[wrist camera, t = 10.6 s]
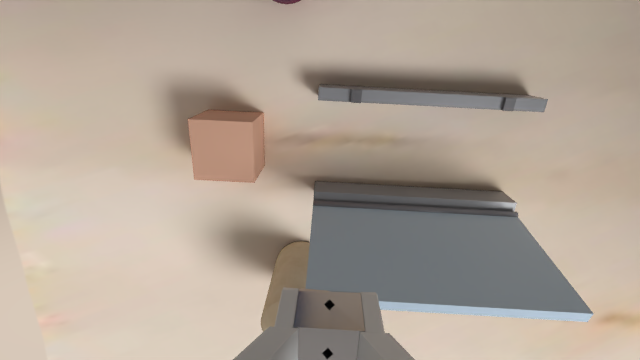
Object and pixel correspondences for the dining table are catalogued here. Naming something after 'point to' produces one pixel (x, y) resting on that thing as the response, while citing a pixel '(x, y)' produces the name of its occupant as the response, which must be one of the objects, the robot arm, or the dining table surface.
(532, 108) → the grey rail
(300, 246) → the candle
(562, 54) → the dining table surface
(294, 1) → the cup
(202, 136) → the block
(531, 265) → the cover
